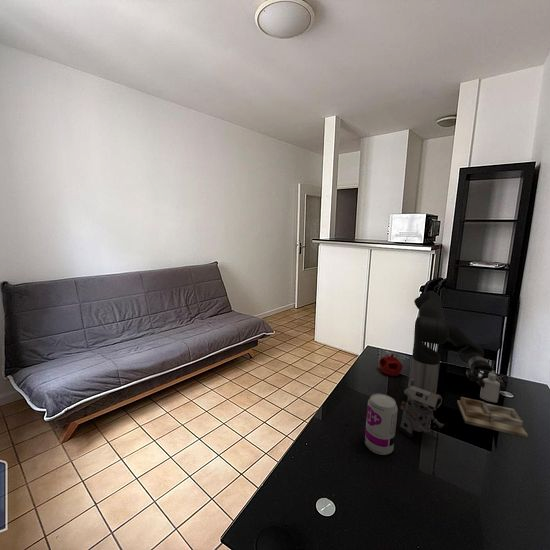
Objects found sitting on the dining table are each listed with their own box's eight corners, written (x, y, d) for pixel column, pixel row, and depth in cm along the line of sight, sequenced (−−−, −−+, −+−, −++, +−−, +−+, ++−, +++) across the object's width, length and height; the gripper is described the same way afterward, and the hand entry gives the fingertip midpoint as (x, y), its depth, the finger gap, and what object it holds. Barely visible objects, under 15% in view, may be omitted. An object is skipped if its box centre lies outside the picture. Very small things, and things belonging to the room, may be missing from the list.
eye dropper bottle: (493, 404, 109) (498, 375, 107) (477, 397, 113) (482, 368, 112) (499, 401, 111) (504, 373, 109) (483, 394, 116) (487, 366, 114)
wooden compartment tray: (465, 423, 98) (466, 415, 97) (457, 402, 110) (458, 395, 109) (527, 437, 91) (528, 429, 91) (511, 414, 103) (512, 406, 103)
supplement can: (375, 459, 81) (379, 410, 79) (359, 438, 89) (362, 394, 86) (399, 454, 83) (404, 406, 81) (381, 434, 91) (386, 390, 89)
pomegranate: (385, 366, 139) (387, 347, 137) (405, 374, 131) (407, 354, 130) (374, 371, 132) (376, 352, 131) (395, 380, 125) (397, 359, 123)
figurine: (426, 451, 85) (432, 404, 82) (395, 427, 95) (399, 385, 92) (446, 441, 89) (452, 397, 86) (413, 419, 99) (418, 379, 96)
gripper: (462, 356, 126) (472, 374, 111) (501, 363, 121) (518, 382, 105) (460, 372, 127) (469, 392, 112) (499, 379, 122) (514, 401, 107)
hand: (493, 387), depth 109 cm, fingers closed on eye dropper bottle, 5 cm apart
